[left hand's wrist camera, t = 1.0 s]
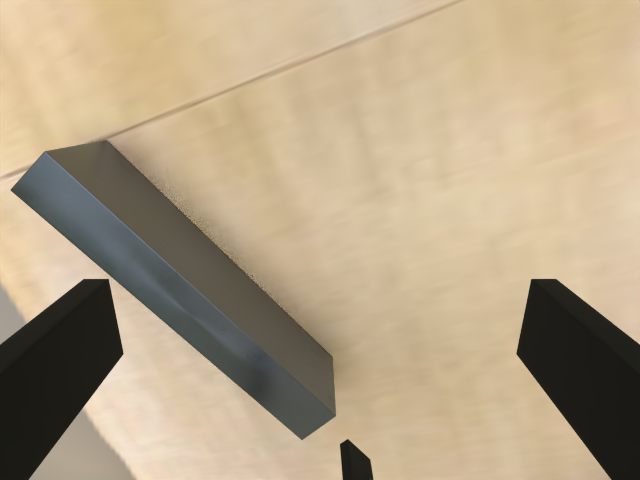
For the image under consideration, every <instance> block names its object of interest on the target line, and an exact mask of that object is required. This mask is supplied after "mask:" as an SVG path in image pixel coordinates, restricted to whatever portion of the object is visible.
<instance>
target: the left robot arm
mask: <svg viewBox="0 0 640 480" xmlns="http://www.w3.org/2000/svg"><path fill="white" fill-rule="evenodd" d="M122 355H123V349H122V344H121V339H120V334H119V329H118V324H117V319H116V314H115V309H114V304H113V299H112V294H111V289H110V284H109V279H83V280H82V281H81V282H80V283H78V284H77V285H76V286H74V287H73V288H72V289H71V290H69V291H68V292H67V293H66V294H64V295H63V296H62V297H60V298H59V299H58V300H57V301H55V302H54V303H53V304H52V305H50V306H49V307H48V308H46V309H45V310H44V311H43V312H41V313H40V314H39V315H38V316H36V317H35V318H34V319H32V320H31V321H30V322H29V323H27V324H26V325H25V326H24V327H22V328H21V329H20V330H18V331H17V332H16V333H15V334H13V335H12V336H11V337H9V338H8V339H7V340H6V341H4V342H3V343H2V344H1V345H0V480H29V478H30V477H31V476H32V474H33V473H34V472H35V470H36V469H37V468H38V466H39V465H40V464H41V462H42V461H43V460H44V458H45V457H46V456H47V455H48V453H49V452H50V451H51V449H52V448H53V447H54V445H55V444H56V443H57V441H58V440H59V439H60V437H61V436H62V435H63V433H64V432H65V431H66V429H67V428H68V427H69V425H70V424H71V423H72V421H73V420H74V419H75V417H76V416H77V415H78V413H79V412H80V411H81V410H82V408H83V407H84V406H85V404H86V403H87V402H88V400H89V399H90V398H91V396H92V395H93V394H94V392H95V391H96V390H97V388H98V387H99V386H100V384H101V383H102V382H103V380H104V379H105V378H106V376H107V375H108V374H109V372H110V371H111V370H112V368H113V367H114V366H115V365H116V363H117V362H118V361H119V359H120V358H121V357H122ZM517 355H518V357H519V358H520V359H521V361H522V362H523V363H524V365H525V366H526V367H527V368H528V370H529V371H530V372H531V374H532V375H533V376H534V378H535V379H536V380H537V382H538V383H539V384H540V386H541V387H542V388H543V390H544V391H545V392H546V394H547V395H548V396H549V398H550V399H551V400H552V402H553V403H554V404H555V406H556V407H557V408H558V410H559V411H560V412H561V413H562V415H563V416H564V417H565V419H566V420H567V421H568V423H569V424H570V425H571V427H572V428H573V429H574V431H575V432H576V433H577V435H578V436H579V437H580V439H581V440H582V441H583V443H584V444H585V445H586V447H587V448H588V449H589V451H590V452H591V453H592V455H593V456H594V457H595V458H596V460H597V461H598V462H599V464H600V465H601V466H602V468H603V469H604V470H605V472H606V473H607V474H608V476H609V477H610V478H611V480H640V345H639V344H638V343H637V342H636V341H634V340H633V339H632V338H631V337H629V336H628V335H627V334H625V333H624V332H623V331H622V330H620V329H619V328H618V327H616V326H615V325H614V324H613V323H611V322H610V321H609V320H608V319H606V318H605V317H604V316H602V315H601V314H600V313H599V312H597V311H596V310H595V309H594V308H592V307H591V306H590V305H588V304H587V303H586V302H585V301H583V300H582V299H581V298H580V297H578V296H577V295H576V294H574V293H573V292H572V291H571V290H569V289H568V288H567V287H566V286H564V285H563V284H562V283H560V282H559V281H558V280H557V279H531V284H530V289H529V294H528V299H527V304H526V309H525V314H524V319H523V324H522V329H521V334H520V339H519V344H518V349H517Z"/></svg>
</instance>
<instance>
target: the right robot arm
mask: <svg viewBox="0 0 640 480" xmlns="http://www.w3.org/2000/svg"><path fill="white" fill-rule="evenodd" d="M340 449H341V462H342V474H343V480H373V474H372V468H371V462H370V459H369V458H368V457H367V456H366V455H365V454H364V453H363V452H361V451H360V450H359V449H358V448H357V447H356V446H355V445H354V444H353V443H352V442H350V441H349V440H348V439H347V440H346V441H344V442H343V443H341V444H340Z"/></svg>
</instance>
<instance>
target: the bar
mask: <svg viewBox="0 0 640 480" xmlns="http://www.w3.org/2000/svg"><path fill="white" fill-rule="evenodd" d="M11 191H12V192H13V193H14V194H16V195H17V196H18V197H19V198H20V199H21V200H23V201H24V202H25V203H26V204H27V205H28V206H30V207H31V208H32V209H33V210H34V211H35V212H37V213H38V214H39V215H40V216H41V217H42V218H44V219H45V220H46V221H47V222H48V223H49V224H51V225H52V226H53V227H54V228H55V229H56V230H58V231H59V232H60V233H61V234H62V235H63V236H65V237H66V238H67V239H68V240H69V241H70V242H72V243H73V244H74V245H75V246H76V247H77V248H79V249H80V250H81V251H82V252H83V253H84V254H86V255H87V256H88V257H89V258H90V259H91V260H93V261H94V262H95V263H96V264H97V265H98V266H100V267H101V268H102V269H103V270H104V271H105V272H107V273H108V274H109V275H110V276H111V277H112V278H114V279H115V280H116V281H117V282H118V283H119V284H121V285H122V286H123V287H124V288H125V289H126V290H128V291H129V292H130V293H131V294H132V295H133V296H135V297H136V298H137V299H138V300H139V301H140V302H142V303H143V304H144V305H145V306H146V307H147V308H149V309H150V310H151V311H152V312H153V313H154V314H155V315H157V316H158V317H159V318H160V319H161V320H162V321H164V322H165V323H166V324H167V325H168V326H169V327H171V328H172V329H173V330H174V331H175V332H176V333H178V334H179V335H180V336H181V337H182V338H183V339H185V340H186V341H187V342H188V343H189V344H190V345H192V346H193V347H194V348H195V349H196V350H197V351H199V352H200V353H201V354H202V355H203V356H204V357H206V358H207V359H208V360H209V361H210V362H211V363H213V364H214V365H215V366H216V367H217V368H218V369H220V370H221V371H222V372H223V373H224V374H225V375H227V376H228V377H229V378H230V379H231V380H232V381H234V382H235V383H236V384H237V385H238V386H239V387H241V388H242V389H243V390H244V391H245V392H246V393H248V394H249V395H250V396H251V397H252V398H253V399H255V400H256V401H257V402H258V403H259V404H260V405H262V406H263V407H264V408H265V409H266V410H267V411H269V412H270V413H271V414H272V415H273V416H274V417H276V418H277V419H278V420H279V421H280V422H281V423H283V424H284V425H285V426H286V427H287V428H288V429H290V430H291V431H292V432H293V433H294V434H295V435H297V436H298V437H299V438H300V439H301V440H303V439H304V438H306V437H307V436H309V435H310V434H311V433H313V432H314V431H316V430H317V429H318V428H320V427H321V426H323V425H324V424H325V423H327V422H328V421H330V420H331V419H332V418H334V417H335V416H336V407H335V391H334V375H333V359H332V356H331V355H330V354H329V353H328V352H327V351H326V350H324V349H323V348H322V347H321V346H320V345H319V344H318V343H317V342H316V341H315V340H314V339H313V338H312V337H311V336H310V335H309V334H308V333H307V332H306V331H305V330H304V329H303V328H302V327H301V326H300V325H298V324H297V323H296V322H295V321H294V320H293V319H292V318H291V317H290V316H289V315H288V314H287V313H286V312H285V311H284V310H283V309H282V308H281V307H280V306H279V305H278V304H277V303H276V302H275V301H273V300H272V299H271V298H270V297H269V296H268V295H267V294H266V293H265V292H264V291H263V290H262V289H261V288H260V287H259V286H258V285H257V284H256V283H255V282H254V281H253V280H252V279H251V278H250V277H249V276H247V275H246V274H245V273H244V272H243V271H242V270H241V269H240V268H239V267H238V266H237V265H236V264H235V263H234V262H233V261H232V260H231V259H230V258H229V257H228V256H227V255H226V254H225V253H224V252H223V251H221V250H220V249H219V248H218V247H217V246H216V245H215V244H214V243H213V242H212V241H211V240H210V239H209V238H208V237H207V236H206V235H205V234H204V233H203V232H202V231H201V230H200V229H199V228H198V227H196V226H195V225H194V224H193V223H192V222H191V221H190V220H189V219H188V218H187V217H186V216H185V215H184V214H183V213H182V212H181V211H180V210H179V209H178V208H177V207H176V206H175V205H174V204H173V203H172V202H170V201H169V200H168V199H167V198H166V197H165V196H164V195H163V194H162V193H161V192H160V191H159V190H158V189H157V188H156V187H155V186H154V185H153V184H152V183H151V182H150V181H149V180H148V179H147V178H145V177H144V176H143V175H142V174H141V173H140V172H139V171H138V170H137V169H136V168H135V167H134V166H133V165H132V164H131V163H130V162H129V161H128V160H127V159H126V158H125V157H124V156H123V155H122V154H121V153H119V152H118V151H117V150H116V149H115V148H114V147H113V146H112V145H111V144H110V143H109V142H108V141H107V140H104V141H99V142H93V143H88V144H83V145H77V146H72V147H66V148H61V149H55V150H50V151H45V152H44V153H43V154H42V155H41V156H40V157H39V158H38V160H37V161H36V162H35V163H34V164H33V165H32V166H31V167H30V169H29V170H28V171H27V172H26V173H25V174H24V175H23V176H22V178H21V179H20V180H19V181H18V182H17V183H16V184H15V185H14V187H13V188H12V189H11Z"/></svg>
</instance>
